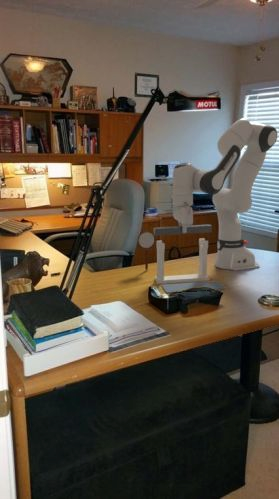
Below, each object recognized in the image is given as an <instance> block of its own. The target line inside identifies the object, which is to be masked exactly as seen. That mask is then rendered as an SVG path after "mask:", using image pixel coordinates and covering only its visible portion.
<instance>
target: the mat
mask: <svg viewBox="0 0 279 499" xmlns="http://www.w3.org/2000/svg"><path fill="white" fill-rule="evenodd" d="M161 287H162V289H163V290H164V292H165V294H167V293H168V294H173V293H172V292H176V291H182V290H186V289H189V288H193V287H210V288H213V289H215V290H214V291H221V290H226V289H227V288H226V286H224V285H223V284H222V283H220V282H219V280H212V281H211V280H209V281H194V282H180V283H165V284H161Z"/></svg>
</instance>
